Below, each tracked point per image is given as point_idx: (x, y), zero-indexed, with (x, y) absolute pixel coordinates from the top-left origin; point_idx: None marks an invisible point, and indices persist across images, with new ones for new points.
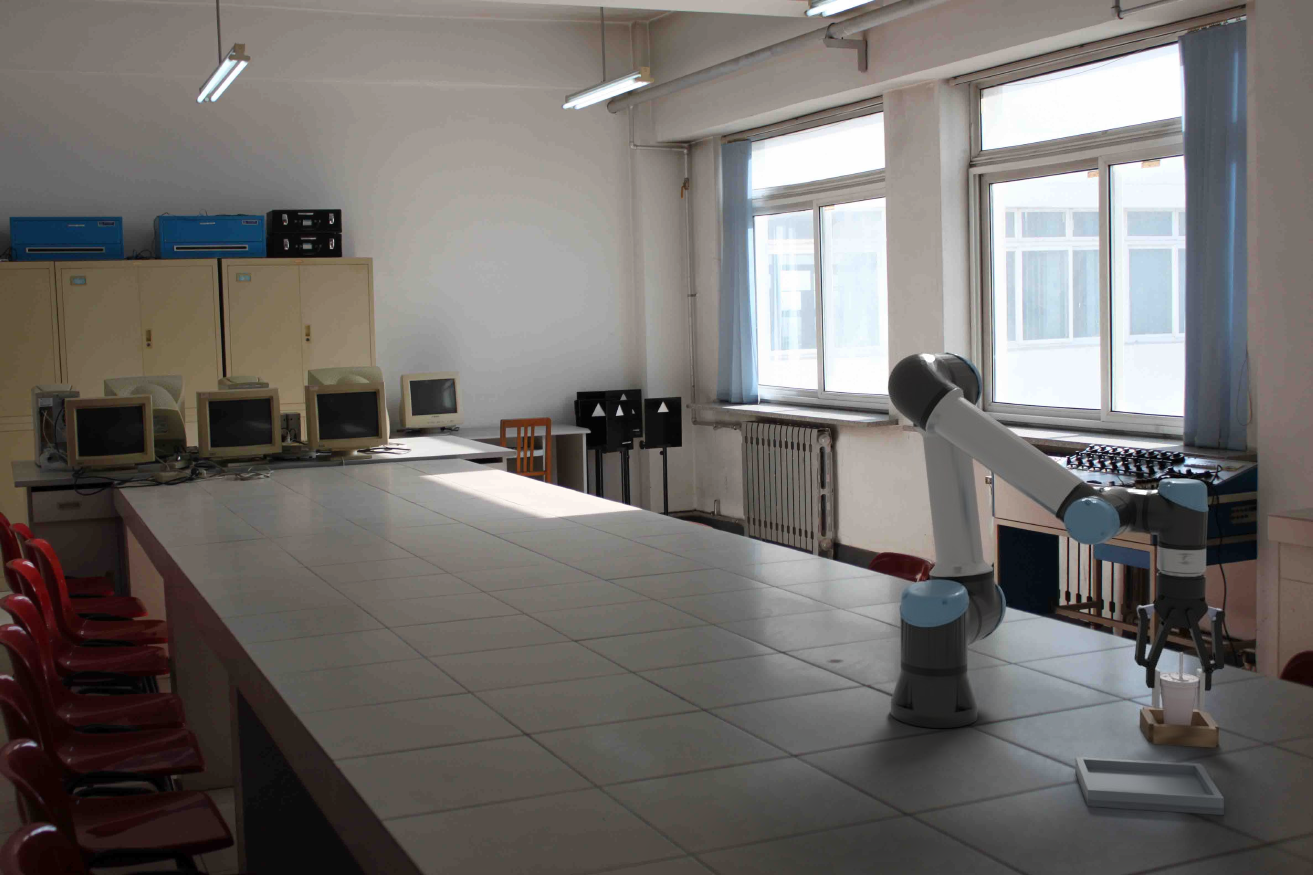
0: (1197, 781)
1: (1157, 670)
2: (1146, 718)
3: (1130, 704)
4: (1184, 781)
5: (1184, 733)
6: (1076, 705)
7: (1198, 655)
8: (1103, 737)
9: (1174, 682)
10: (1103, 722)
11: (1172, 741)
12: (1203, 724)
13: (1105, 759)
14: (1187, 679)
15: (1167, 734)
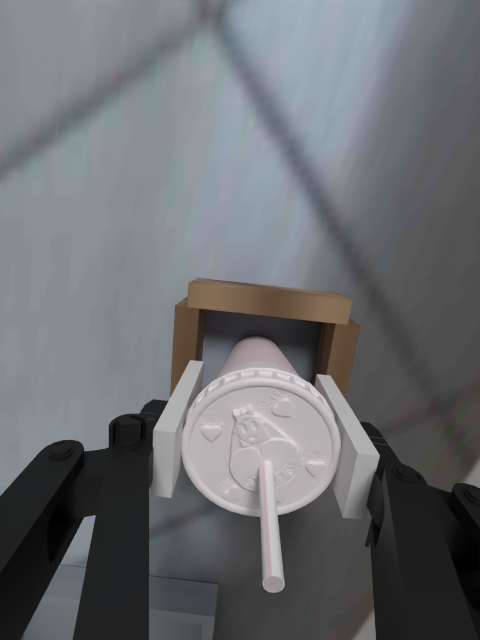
0: (198, 628)
1: (161, 486)
2: (173, 388)
3: (209, 83)
4: (177, 628)
5: None
6: (48, 110)
7: (387, 533)
8: (87, 383)
9: (223, 506)
10: (102, 273)
11: None
12: (321, 373)
13: (46, 599)
14: (281, 496)
15: None
